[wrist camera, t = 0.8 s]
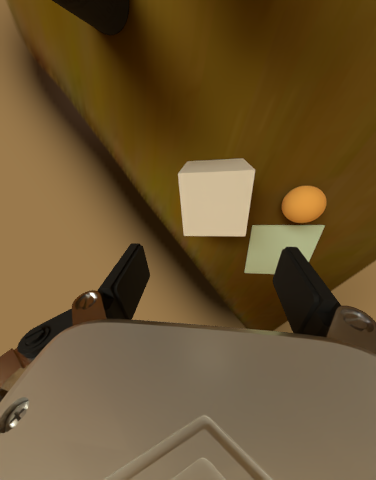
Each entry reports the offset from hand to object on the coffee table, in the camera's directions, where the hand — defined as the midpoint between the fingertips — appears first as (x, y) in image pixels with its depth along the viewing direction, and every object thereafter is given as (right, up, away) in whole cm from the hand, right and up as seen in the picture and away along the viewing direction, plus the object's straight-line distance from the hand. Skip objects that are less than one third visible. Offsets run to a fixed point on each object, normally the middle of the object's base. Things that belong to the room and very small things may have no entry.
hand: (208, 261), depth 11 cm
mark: (+15, -1, +19) cm, 24 cm away
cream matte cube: (+3, +10, +14) cm, 17 cm away
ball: (+14, +6, +11) cm, 19 cm away
